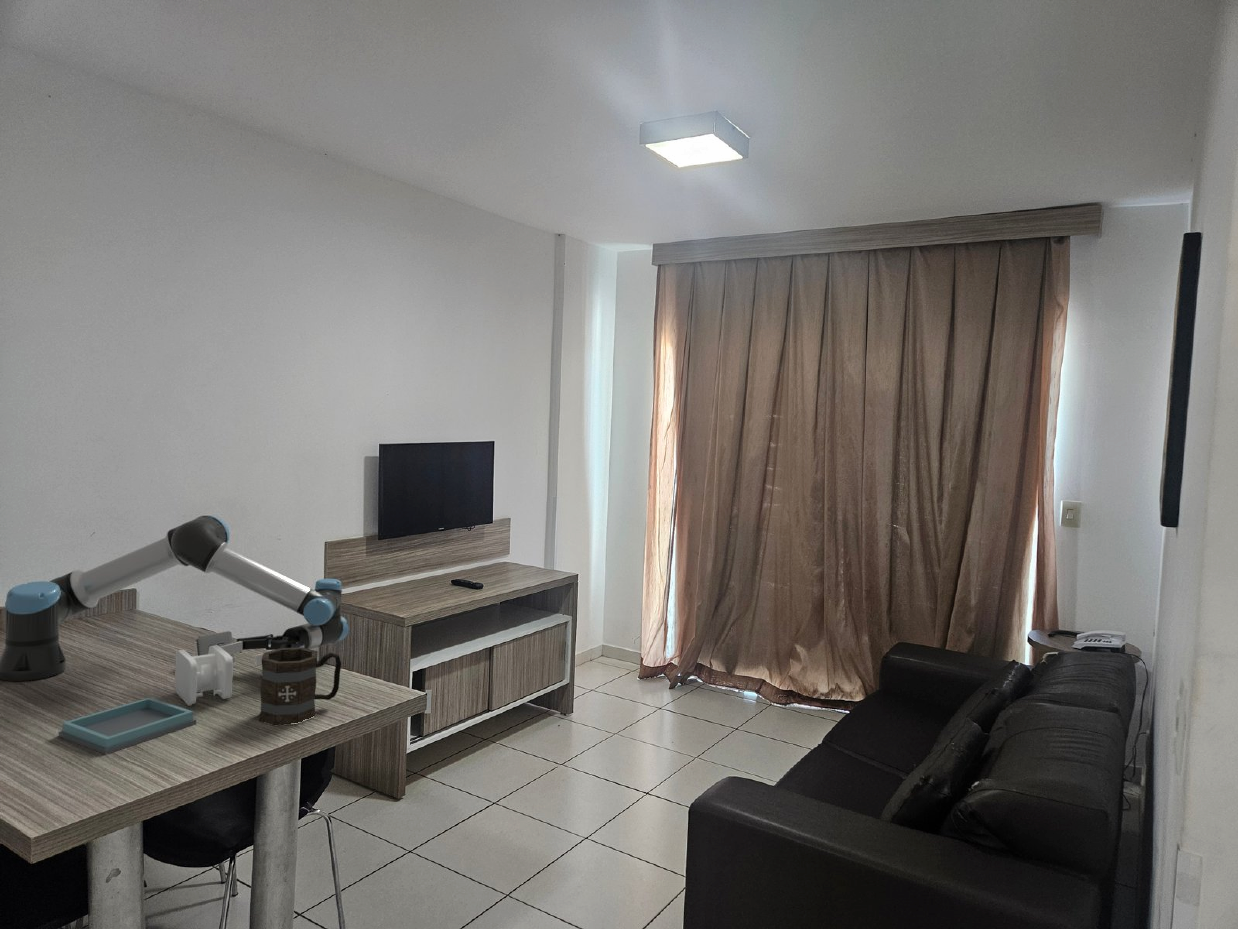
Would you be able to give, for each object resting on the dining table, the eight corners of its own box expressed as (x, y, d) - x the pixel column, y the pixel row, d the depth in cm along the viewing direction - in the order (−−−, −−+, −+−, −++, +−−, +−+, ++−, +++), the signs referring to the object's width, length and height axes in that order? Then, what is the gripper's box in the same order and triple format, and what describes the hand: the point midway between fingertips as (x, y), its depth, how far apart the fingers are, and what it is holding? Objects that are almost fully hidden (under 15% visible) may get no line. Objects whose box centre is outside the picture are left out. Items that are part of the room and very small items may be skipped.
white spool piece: (172, 692, 210) (173, 647, 209) (216, 684, 217) (217, 642, 216) (188, 709, 199) (190, 663, 198) (234, 701, 206) (235, 656, 205)
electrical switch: (201, 670, 228) (201, 637, 228) (193, 667, 231) (193, 635, 231) (235, 663, 235) (234, 631, 235) (226, 661, 238) (226, 629, 238)
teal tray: (58, 736, 179) (58, 723, 179) (150, 708, 198) (150, 696, 198) (105, 754, 172) (105, 740, 171) (196, 723, 190) (196, 711, 190)
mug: (268, 730, 189) (271, 667, 189) (249, 712, 199) (252, 652, 199) (350, 713, 202) (352, 654, 202) (328, 697, 213) (330, 641, 212)
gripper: (332, 659, 230) (270, 678, 211) (270, 644, 241) (206, 661, 222) (333, 633, 230) (271, 650, 211) (271, 619, 241) (207, 634, 222)
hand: (237, 656), depth 216 cm, fingers open, 13 cm apart
